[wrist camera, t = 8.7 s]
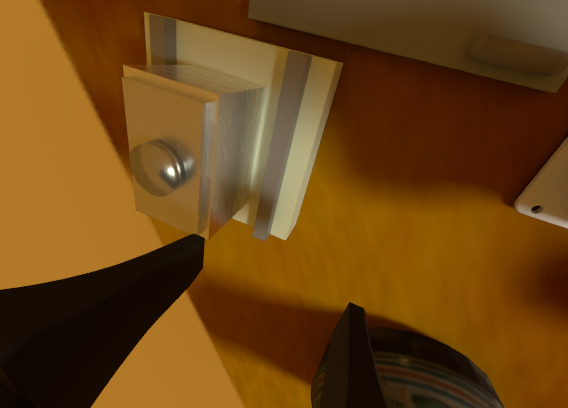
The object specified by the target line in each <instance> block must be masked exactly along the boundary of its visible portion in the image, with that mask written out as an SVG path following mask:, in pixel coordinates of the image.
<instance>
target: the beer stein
mask: <svg viewBox="0 0 568 408" xmlns="http://www.w3.org/2000/svg"><path fill="white" fill-rule="evenodd" d="M368 334H369V339H370V344H371V349H372V353H373V357H374V362H375V366H376V370H377V373H378V377H379V381H380V384H381V388H382V391H383V394H384V397H385V401H386V404H387V407H388V408H504V406H503V404H502V403H501V401H500V399H499V397H498V396H497V394H496V392H495V390H494V388H493V386H492V384H491V382H490V380H489V378H488V376H487V375H486V374H485V373H484V372H483V371H482V370H481V369H480V368H478V367H477V366H476V365H475V364H474V363H473V362H472V361H471V360H470V359H469V358H468V357H466V356H465V355H463V354H461V353H460V352H458V351H456V350H455V349H453V348H451V347H449V346H447V345H445V344H442V343H440V342H437V341H434V340H432V339H429V338H427V337H424V336H421V335H419V334H416V333H413V332H407V331H400V330H394V329H388V328H374V329H368ZM330 345H331V343H329V345H328V347H327V349H326V352H325V354H324V356H323V358H322V361H321V363H320V365H319V367H318V369H317V371H316V374H315V376H314V378H313V381H312V386H311V403H312V408H320V403H321V396H322V390H323V383H324V377H325V370H326V364H327V358H328V352H329V348H330Z"/></svg>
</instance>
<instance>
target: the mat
mask: <svg viewBox="0 0 568 408" xmlns="http://www.w3.org/2000/svg"><path fill="white" fill-rule="evenodd" d="M248 18H250V19H253V20H257V21H261V22H265V23H269V24H273V25H277V26H281V27H285V28H289V29H293V30H297V31H301V32H305V33H309V34H314V35H318V36H322V37H326V38H330V39H334V40H338V41H342V42H346V43H350V44H354V45H358V46H362V47H366V48H370V49H374V50H378V51H382V52H386V53H390V54H395V55H399V56H403V57H407V58H411V59H415V60H419V61H423V62H427V63H431V64H435V65H439V66H443V67H447V68H451V69H455V70H459V71H463V72H467V73H472V74H476V75H480V76H484V77H488V78H492V79H496V80H500V81H504V82H508V83H512V84H516V85H520V86H524V87H528V88H532V89H536V90H540V91H544V92H550V93H556V92H557V91H558V89H559V88H560V87H561V85H562V84H563V83H564V81H565V80H566V78H567V77H568V0H250V1H249V9H248Z"/></svg>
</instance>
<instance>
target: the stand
mask: <svg viewBox="0 0 568 408" xmlns="http://www.w3.org/2000/svg"><path fill="white" fill-rule="evenodd" d="M144 21H145V38H146V55H147V65H195V66H198V67H201V68H205V69H208V70H212V71H215V72H218V73H222V74H225V75H228V76H232V77H235V78H239V79H242V80H245V81H249V82H252V83H255V84H259V85H262V86H265V87H267V90H266V96H265V102H264V108H263V114H262V120H261V126H260V133H259V139H258V145H257V151H256V157H255V163H254V169H253V175H252V181H251V187H250V193H249V199H248V203H247V204H246V205H245V206H244V207H243V208H242V209H241V210H239V211H238V212H237V213H236V214H235V215H234V216H233V217H232V218H233V219H235V220H238V221H240V222H243V223H245V224H247V225H250V226H252V227H254V230H253V237H256V238H258V239H261V240H263V241H265V240H266V239H267V237H268V236H269V235H270V234H271V235H274V236H276V237H279V238H281V239H284V240H286V239H287V238H288V236H289V234H290V233H291V231H292V229H293V228H294V226H295V224H296V222H297V218H298V215H299V212H300V208H301V205H302V202H303V198H304V195H305V192H306V188H307V185H308V182H309V178H310V175H311V172H312V168H313V165H314V161H315V158H316V155H317V151H318V148H319V145H320V141H321V138H322V135H323V131H324V128H325V125H326V121H327V118H328V115H329V111H330V108H331V105H332V101H333V98H334V95H335V91H336V88H337V85H338V81H339V78H340V75H341V71H342V68H343V65H344V63H342V62H338V61H334V60H330V59H327V58H323V57H319V56H315V55H311V54H308V53H304V52H300V51H296V50H292V49H289V48H285V47H281V46H277V45H273V44H270V43H266V42H262V41H258V40H254V39H251V38H247V37H243V36H239V35H235V34H232V33H228V32H224V31H220V30H216V29H213V28H209V27H205V26H201V25H197V24H194V23H190V22H186V21H182V20H178V19H175V18H170V17H166V16H161V15H157V14H152V13H147V12H144Z"/></svg>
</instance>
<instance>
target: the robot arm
mask: <svg viewBox="0 0 568 408" xmlns="http://www.w3.org/2000/svg"><path fill="white" fill-rule="evenodd" d="M537 205H538V206H540V207H539V209H537V210H534V211H533V210H531V209H532V207H534V206H537ZM514 207H515V209H516V210H517V211H518V212H520V213H522V214H525V215H528V216H531V217H534V218H537V219H540V220H543V221H546V222H549V223H552V224H555V225H558V226H561V227H564V228H567V229H568V137H567V138H566V139H565V141H564V142H563V143H562V144H561V145H560V147H559V148H558V149H557V150H556V152H555V153H554V154H553V155H552V156H551V158H550V159H549V160H548V161H547V163H546V164H545V165H544V166H543V168H542V169H541V170H540V171H539V172H538V174H537V175H536V176H535V177H534V179H533V180H532V181H531V182H530V183H529V185H528V186H527V187H526V188H525V190H524V191H523V192H522V193H521V195H520V196H519V197H518V198H517V199H516V201H515V203H514ZM204 242H205V238H204V237H201V236H199V235H197V234H195V233H194V234H191V235H189V236H186V237H184V238H182V239H180V240H177V241H175V242H173V243H170V244H168V245H166V246H164V247H161V248H159V249H156V250H154V251H152V252H149V253H147V254H145V255H142V256H139V257H136V258H134V259H131V260H128V261H126V262H123V263H120V264H117V265H114V266H111V267H107V268H104V269H101V270H97V271H94V272H90V273H86V274H83V275H78V276H74V277H70V278H66V279H61V280H56V281H52V282H47V283H41V284H36V285H30V286H24V287H18V288H10V289H3V290H0V408H91V406H92V405H93V403H94V402H95V400H96V399H97V398H98V396H99V395H100V393H101V392H102V390H103V389H104V387H105V386H106V385H107V384H108V382H109V381H110V379H111V378H112V377H113V375H114V374H115V372H116V371H117V370H118V368H119V367H120V366H121V364H122V363H123V362H124V360H125V359H126V358H127V356H128V355H129V354H130V352H131V351H132V350H133V349H134V347H135V346H136V345H137V343H138V342H139V341H140V340H141V338H142V337H143V336H144V335H145V333H146V332H147V331H148V330H149V328H150V327H151V326H152V325H153V324H154V323H155V322H156V321H157V320H158V318H160V317H161V315H162V314H163V313H164V312H165V311H166V310H167V309H168V308H169V307H170V306H171V305H172V304H173V303H174V302H175V301H176V300H177V299H178V298H179V297H180V295H181V294H182V293H183V292H184V291H185V290H186V289H187V288H188V287H189V286H190V285H191V283H192V282H193V281H194V279H195V278H196V277H197V275H198V274H199V272H200V271H201V270H202V268H203V257H204ZM320 408H388V407H387V404H386V401H385V397H384V394H383V391H382V388H381V384H380V381H379V377H378V373H377V370H376V366H375V362H374V357H373V353H372V349H371V344H370V339H369V334H368V329H367V323H366V315H365V310H364V308H362V307H360V306H357V305H355V304H353V303H350V302H349V304H348V306H347V308H346V310H345V311H344V313H343V315H342V317H341V319H340V321H339V322H338V324H337V326H336V328H335V330H334V333H333V337H332V341H331V345H330V348H329V352H328V358H327V364H326V370H325V377H324V383H323V390H322V396H321V403H320Z"/></svg>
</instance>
